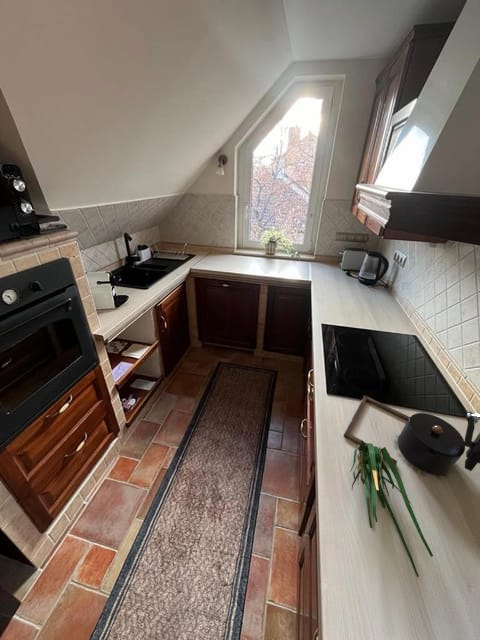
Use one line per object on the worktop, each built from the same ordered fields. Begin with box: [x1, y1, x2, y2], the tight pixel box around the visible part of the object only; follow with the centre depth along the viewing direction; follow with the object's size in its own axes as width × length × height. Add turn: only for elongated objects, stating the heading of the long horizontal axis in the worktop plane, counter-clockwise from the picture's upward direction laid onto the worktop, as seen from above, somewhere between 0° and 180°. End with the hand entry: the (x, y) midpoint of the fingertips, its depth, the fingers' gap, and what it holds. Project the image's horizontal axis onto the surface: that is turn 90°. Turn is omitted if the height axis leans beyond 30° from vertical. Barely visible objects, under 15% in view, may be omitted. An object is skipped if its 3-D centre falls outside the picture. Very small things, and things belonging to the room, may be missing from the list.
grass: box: [349, 439, 434, 578], centre depth 62 cm, size 18×15×25 cm
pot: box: [397, 412, 466, 476], centre depth 75 cm, size 14×16×12 cm
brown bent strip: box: [343, 395, 411, 466], centre depth 85 cm, size 15×22×1 cm
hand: (467, 465), depth 71 cm, fingers closed
